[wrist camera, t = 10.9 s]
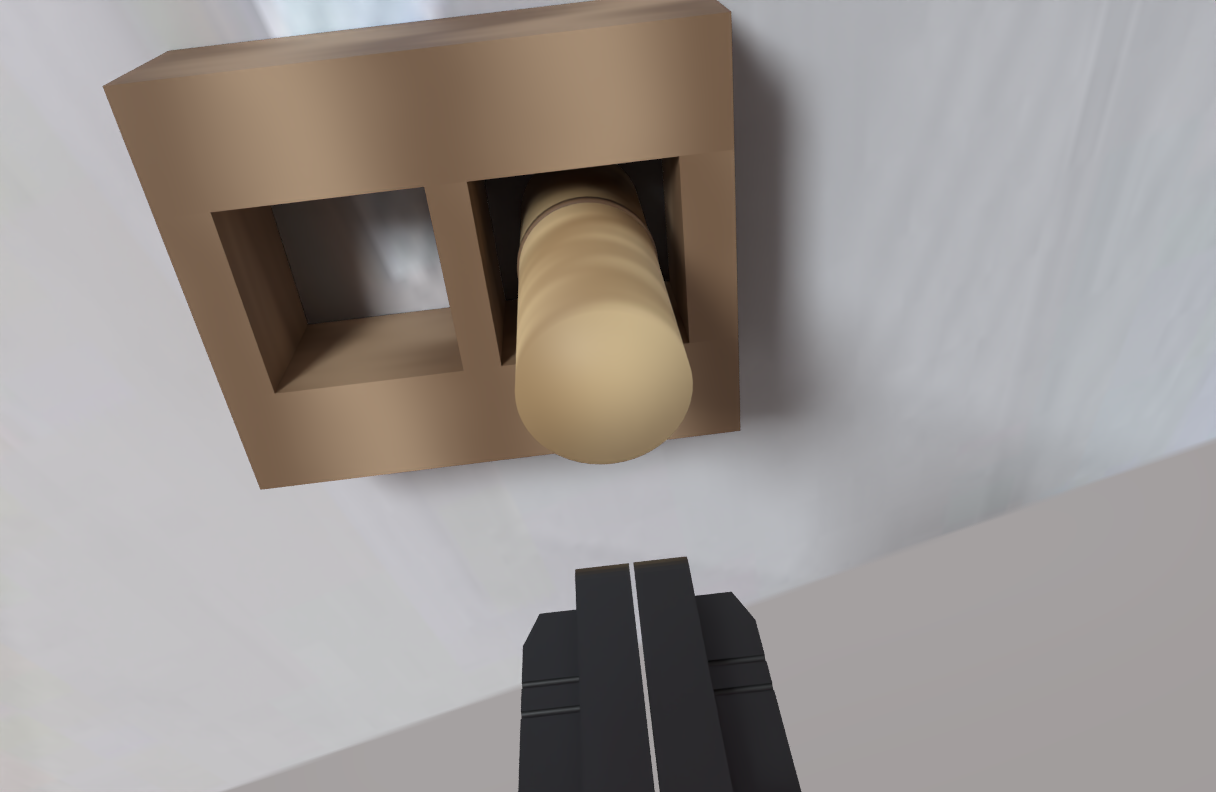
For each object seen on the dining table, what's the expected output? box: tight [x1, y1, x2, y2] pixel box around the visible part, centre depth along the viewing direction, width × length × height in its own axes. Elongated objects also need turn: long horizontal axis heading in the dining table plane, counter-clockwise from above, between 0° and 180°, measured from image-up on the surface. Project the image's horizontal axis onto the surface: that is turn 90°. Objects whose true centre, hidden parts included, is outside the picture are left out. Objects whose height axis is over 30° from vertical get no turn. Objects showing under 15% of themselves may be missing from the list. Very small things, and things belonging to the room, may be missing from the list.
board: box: [103, 0, 740, 489], centre depth 23 cm, size 14×11×4 cm
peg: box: [515, 164, 693, 464], centre depth 21 cm, size 4×4×10 cm
